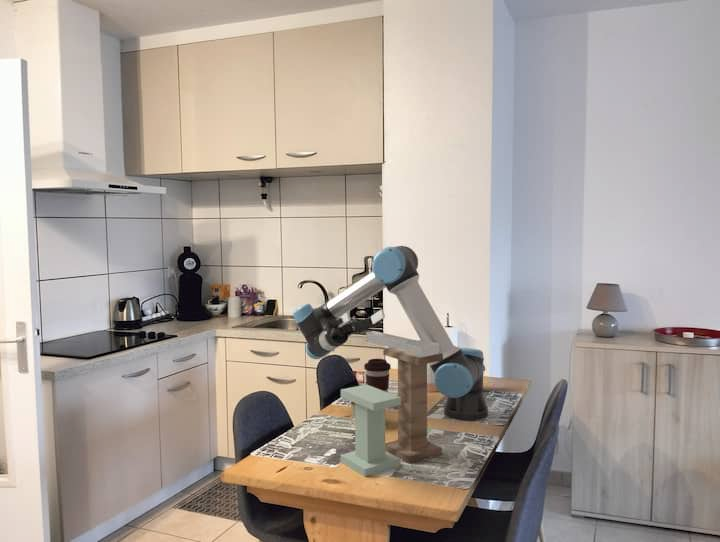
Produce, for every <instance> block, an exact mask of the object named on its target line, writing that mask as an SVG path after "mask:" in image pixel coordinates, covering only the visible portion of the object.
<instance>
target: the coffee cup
mask: <svg viewBox="0 0 720 542" xmlns="http://www.w3.org/2000/svg"><path fill="white" fill-rule="evenodd" d="M363 366H364V367H363V368H364V370H365V382H366V383H365V385H369V386H372V387H375V388H377V389H380V390H382V391H385V392H388V390H389V385H390V384H389V383H390V382H389V381H390V370H391V364H390V363H388V361H387V360H386V359H384V358H371V359H368V361H367V362H366V363H364V365H363ZM388 393H389V392H388Z"/></svg>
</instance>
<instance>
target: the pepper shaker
mask: <svg viewBox="0 0 720 542" xmlns="http://www.w3.org/2000/svg"><path fill="white" fill-rule="evenodd" d="M429 364H430V363H428V364H427V393H437V392H439V390H438V389H437V388H436V385H435V382H434V376H435V374H434V372H433V371H432V369H431V367H430V365H429Z"/></svg>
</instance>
